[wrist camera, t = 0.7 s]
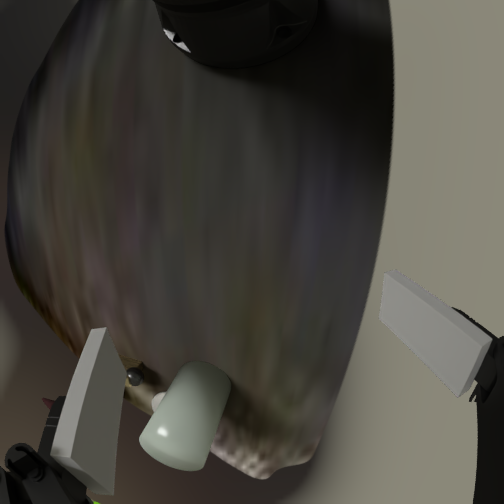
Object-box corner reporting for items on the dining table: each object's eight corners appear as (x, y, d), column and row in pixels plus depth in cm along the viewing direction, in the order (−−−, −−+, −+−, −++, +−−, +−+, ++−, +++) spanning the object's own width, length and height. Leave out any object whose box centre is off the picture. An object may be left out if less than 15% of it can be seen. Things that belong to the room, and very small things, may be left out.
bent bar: (94, 343, 36) (78, 357, 32) (149, 360, 35) (136, 379, 31) (106, 384, 39) (93, 399, 35) (157, 402, 37) (146, 420, 33)
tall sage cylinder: (177, 355, 33) (133, 423, 22) (232, 367, 32) (202, 445, 21) (181, 393, 35) (146, 458, 24) (230, 404, 34) (205, 476, 23)
